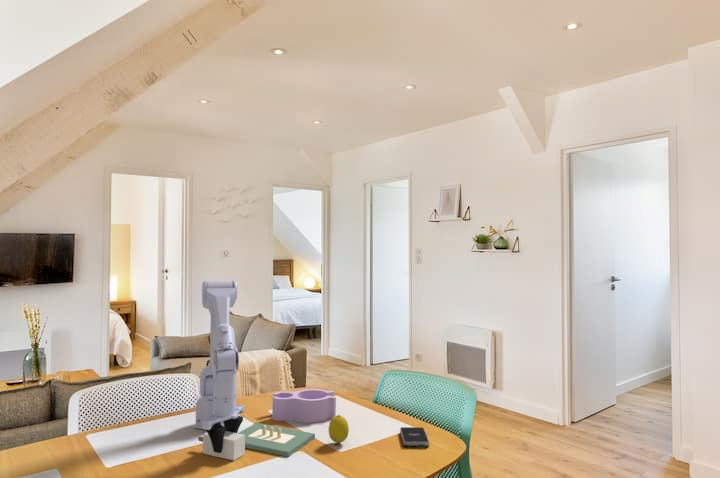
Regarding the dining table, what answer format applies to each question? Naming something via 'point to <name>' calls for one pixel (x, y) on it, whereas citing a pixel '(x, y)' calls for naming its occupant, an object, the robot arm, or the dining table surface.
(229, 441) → the plug housing
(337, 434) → the lemon
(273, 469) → the dining table surface
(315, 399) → the purple lobed piece
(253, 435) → the board
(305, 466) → the dining table surface
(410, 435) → the external hard drive
